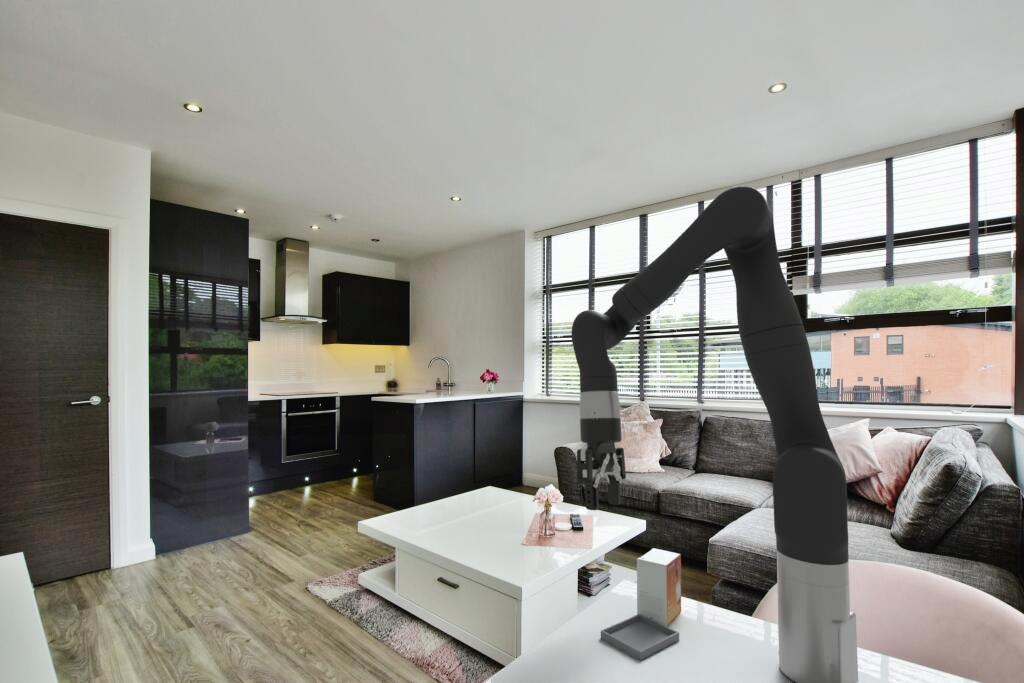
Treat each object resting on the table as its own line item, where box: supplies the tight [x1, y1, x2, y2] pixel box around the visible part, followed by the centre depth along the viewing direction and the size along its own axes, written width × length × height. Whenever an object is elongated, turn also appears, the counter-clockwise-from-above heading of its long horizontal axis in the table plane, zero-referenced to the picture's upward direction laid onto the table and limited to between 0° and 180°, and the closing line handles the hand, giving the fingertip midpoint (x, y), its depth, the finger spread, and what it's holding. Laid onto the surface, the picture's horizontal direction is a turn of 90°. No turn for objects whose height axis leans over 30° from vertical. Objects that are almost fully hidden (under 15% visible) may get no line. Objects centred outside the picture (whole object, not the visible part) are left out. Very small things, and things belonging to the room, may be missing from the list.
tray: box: [600, 614, 680, 661], centre depth 83 cm, size 8×10×1 cm
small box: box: [636, 547, 682, 627], centre depth 92 cm, size 8×6×10 cm
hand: (604, 506), depth 91 cm, fingers open, 8 cm apart
